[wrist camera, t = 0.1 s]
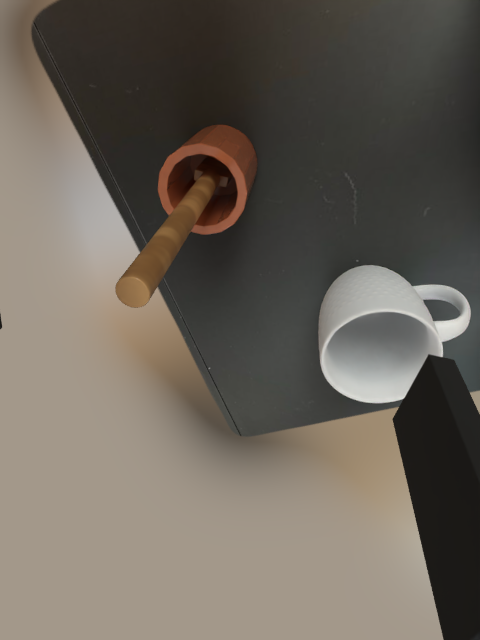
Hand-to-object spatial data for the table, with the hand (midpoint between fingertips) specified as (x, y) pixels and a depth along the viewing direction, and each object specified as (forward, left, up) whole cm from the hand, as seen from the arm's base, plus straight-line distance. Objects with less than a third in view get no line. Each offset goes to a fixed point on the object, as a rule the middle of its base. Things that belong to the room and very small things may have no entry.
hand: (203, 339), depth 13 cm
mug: (+14, +15, -36) cm, 41 cm away
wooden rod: (+4, -5, -35) cm, 35 cm away
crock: (+4, -5, -36) cm, 36 cm away
